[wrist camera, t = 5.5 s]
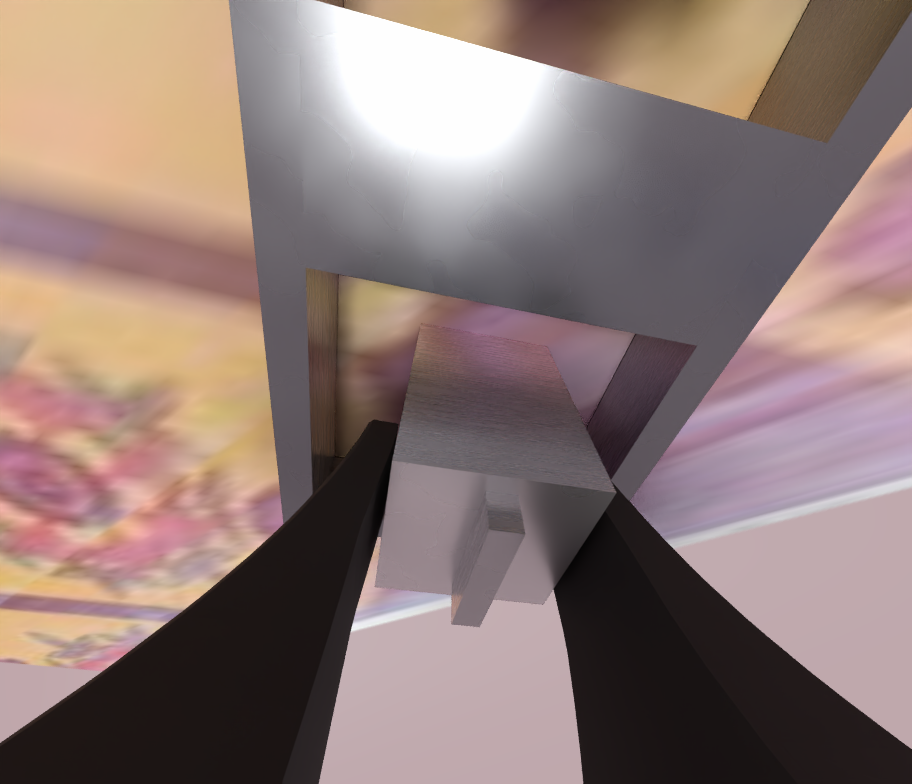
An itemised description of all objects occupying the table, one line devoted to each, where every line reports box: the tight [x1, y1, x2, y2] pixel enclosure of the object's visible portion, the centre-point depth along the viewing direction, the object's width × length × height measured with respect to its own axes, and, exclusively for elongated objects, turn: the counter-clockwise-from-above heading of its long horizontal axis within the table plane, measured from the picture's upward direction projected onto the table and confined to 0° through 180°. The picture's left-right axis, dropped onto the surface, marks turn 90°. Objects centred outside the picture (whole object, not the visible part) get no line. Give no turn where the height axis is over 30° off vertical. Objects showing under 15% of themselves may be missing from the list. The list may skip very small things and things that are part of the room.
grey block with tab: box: [375, 323, 616, 627], centre depth 9 cm, size 4×4×7 cm
